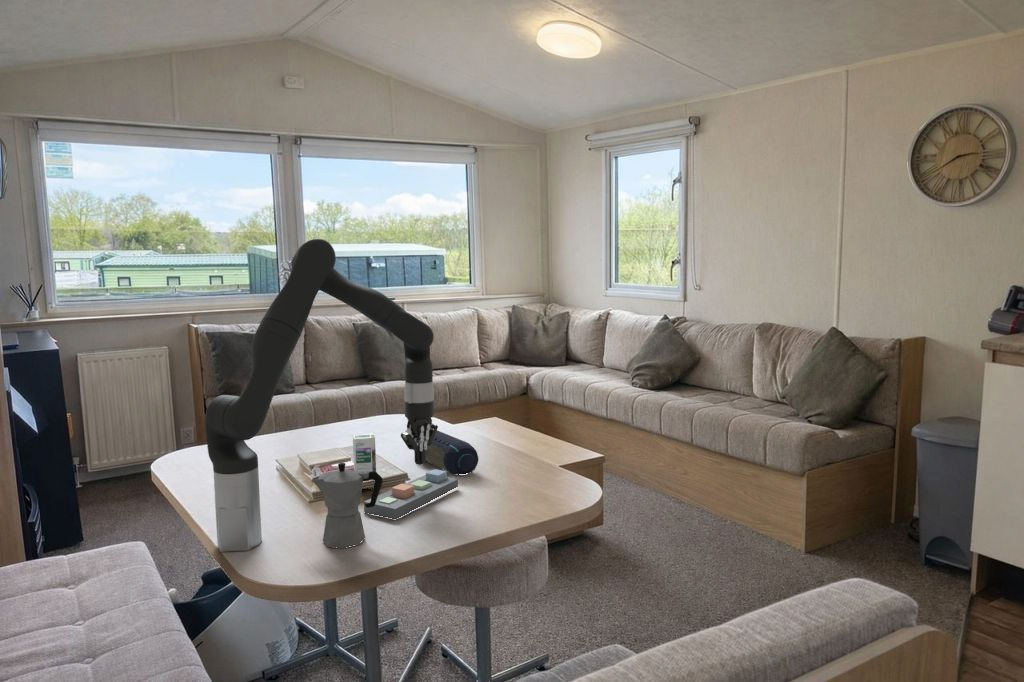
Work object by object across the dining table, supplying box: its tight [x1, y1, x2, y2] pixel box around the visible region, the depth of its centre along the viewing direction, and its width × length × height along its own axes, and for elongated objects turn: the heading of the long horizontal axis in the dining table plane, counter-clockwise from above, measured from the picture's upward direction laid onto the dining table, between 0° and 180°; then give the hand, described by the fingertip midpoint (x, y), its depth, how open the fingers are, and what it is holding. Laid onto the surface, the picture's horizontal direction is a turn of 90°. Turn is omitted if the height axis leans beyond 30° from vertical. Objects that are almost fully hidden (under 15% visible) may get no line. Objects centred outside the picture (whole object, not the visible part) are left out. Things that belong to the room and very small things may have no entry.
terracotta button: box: [391, 483, 414, 499], centre depth 182 cm, size 4×4×4 cm
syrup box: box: [352, 432, 377, 481], centre depth 196 cm, size 6×6×14 cm
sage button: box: [409, 480, 431, 491], centre depth 188 cm, size 4×4×4 cm
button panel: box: [363, 474, 459, 519], centre depth 186 cm, size 26×10×3 cm, turn 149°
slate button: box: [425, 469, 448, 483], centre depth 194 cm, size 4×4×4 cm
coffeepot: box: [311, 462, 384, 549], centre depth 160 cm, size 15×9×18 cm, turn 101°
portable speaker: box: [425, 429, 479, 476], centre depth 214 cm, size 25×10×10 cm, turn 35°
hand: (420, 463), depth 187 cm, fingers closed
